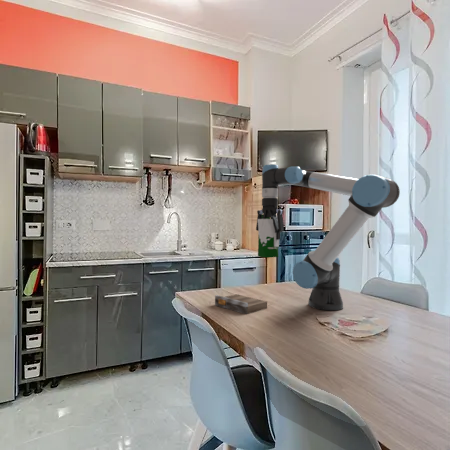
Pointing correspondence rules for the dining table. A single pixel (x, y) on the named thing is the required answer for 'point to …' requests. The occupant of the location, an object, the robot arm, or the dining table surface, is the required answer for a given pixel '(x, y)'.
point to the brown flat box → (240, 303)
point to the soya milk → (266, 238)
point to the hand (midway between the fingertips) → (269, 246)
